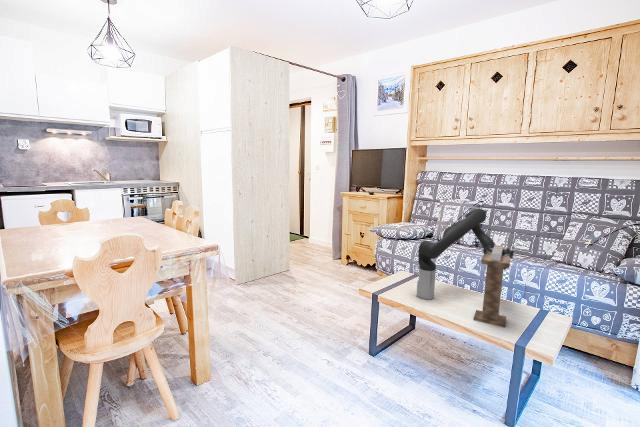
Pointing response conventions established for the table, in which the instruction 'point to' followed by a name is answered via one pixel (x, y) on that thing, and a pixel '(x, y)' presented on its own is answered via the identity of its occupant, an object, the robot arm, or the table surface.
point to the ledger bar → (496, 253)
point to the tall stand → (492, 291)
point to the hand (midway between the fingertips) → (498, 248)
